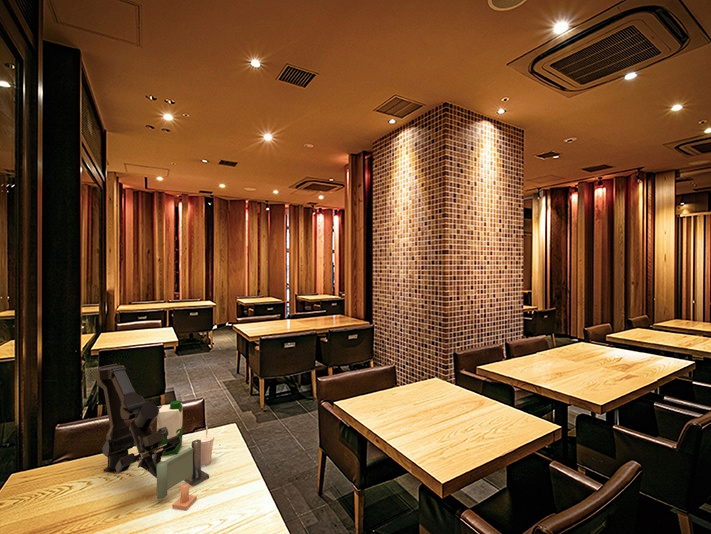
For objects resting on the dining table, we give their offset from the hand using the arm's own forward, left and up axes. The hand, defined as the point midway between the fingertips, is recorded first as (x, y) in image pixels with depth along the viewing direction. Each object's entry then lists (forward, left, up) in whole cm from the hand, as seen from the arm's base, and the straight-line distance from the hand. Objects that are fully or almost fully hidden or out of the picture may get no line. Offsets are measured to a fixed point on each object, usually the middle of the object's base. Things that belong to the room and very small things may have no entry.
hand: (158, 477), depth 112 cm
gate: (+3, +4, -6) cm, 8 cm away
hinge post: (+5, +12, -7) cm, 15 cm away
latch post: (+10, 0, -7) cm, 12 cm away
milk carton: (-18, +27, -8) cm, 34 cm away
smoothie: (+2, +22, -8) cm, 24 cm away
